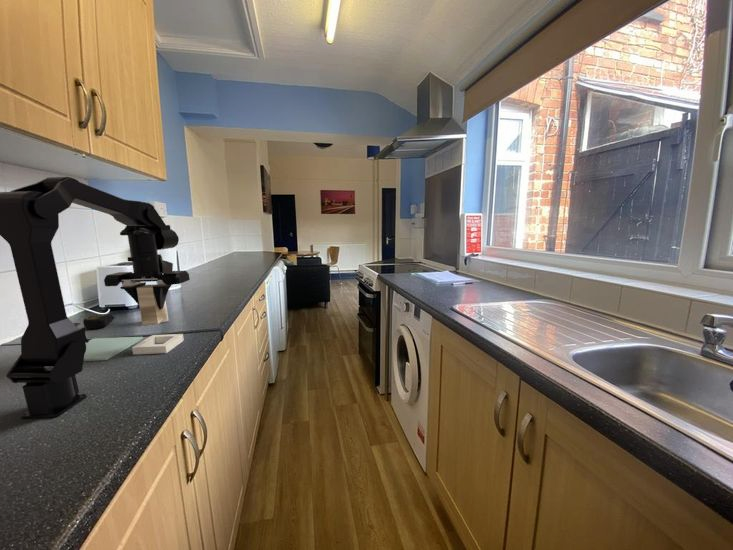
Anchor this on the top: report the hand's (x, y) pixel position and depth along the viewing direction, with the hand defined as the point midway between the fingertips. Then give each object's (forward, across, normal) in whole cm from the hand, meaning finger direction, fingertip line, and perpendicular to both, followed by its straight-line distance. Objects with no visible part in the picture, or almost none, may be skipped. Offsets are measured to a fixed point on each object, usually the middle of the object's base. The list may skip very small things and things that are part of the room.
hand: (153, 309), depth 82 cm
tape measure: (+11, +31, -20) cm, 38 cm away
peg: (+4, 0, 0) cm, 4 cm away
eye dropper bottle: (+11, +13, -23) cm, 29 cm away
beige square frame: (+11, 0, 0) cm, 11 cm away
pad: (+11, +16, 0) cm, 19 cm away
